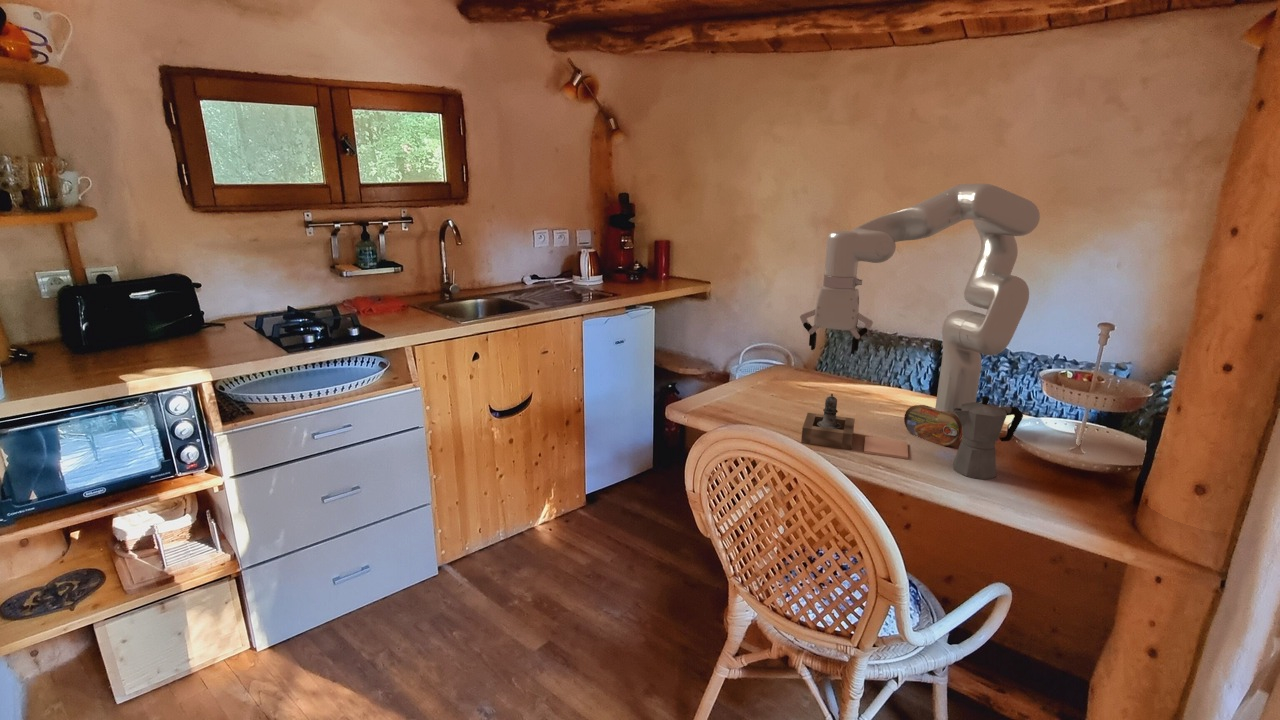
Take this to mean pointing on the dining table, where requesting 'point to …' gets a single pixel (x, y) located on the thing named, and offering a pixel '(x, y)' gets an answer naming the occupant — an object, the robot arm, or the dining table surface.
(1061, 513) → the dining table surface
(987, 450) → the coffeepot
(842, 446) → the socket block
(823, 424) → the salt shaker
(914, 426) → the tin
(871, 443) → the terracotta tile
